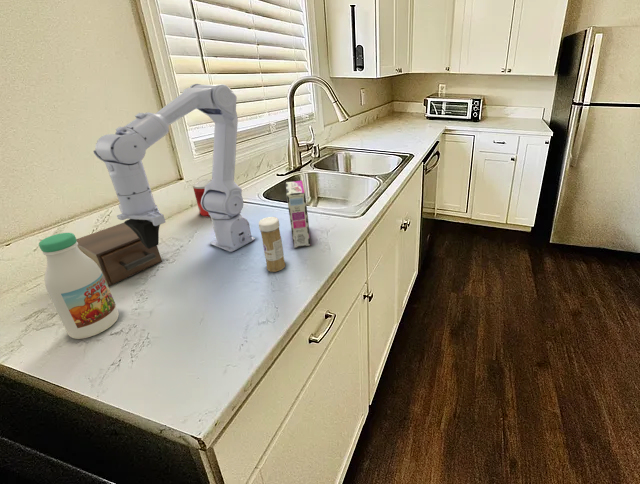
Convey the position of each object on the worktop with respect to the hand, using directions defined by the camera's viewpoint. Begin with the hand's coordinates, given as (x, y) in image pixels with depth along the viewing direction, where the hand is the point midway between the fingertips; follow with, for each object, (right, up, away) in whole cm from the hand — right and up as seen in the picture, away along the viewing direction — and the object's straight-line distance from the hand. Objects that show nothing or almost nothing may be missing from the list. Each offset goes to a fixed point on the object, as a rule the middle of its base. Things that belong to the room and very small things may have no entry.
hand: (152, 246), depth 74 cm
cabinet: (-15, -7, +10) cm, 20 cm away
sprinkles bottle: (+25, -7, +9) cm, 28 cm away
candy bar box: (+27, -2, +23) cm, 36 cm away
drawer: (-12, -7, +9) cm, 17 cm away
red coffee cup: (-9, +4, +40) cm, 42 cm away
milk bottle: (-5, -15, -9) cm, 17 cm away
